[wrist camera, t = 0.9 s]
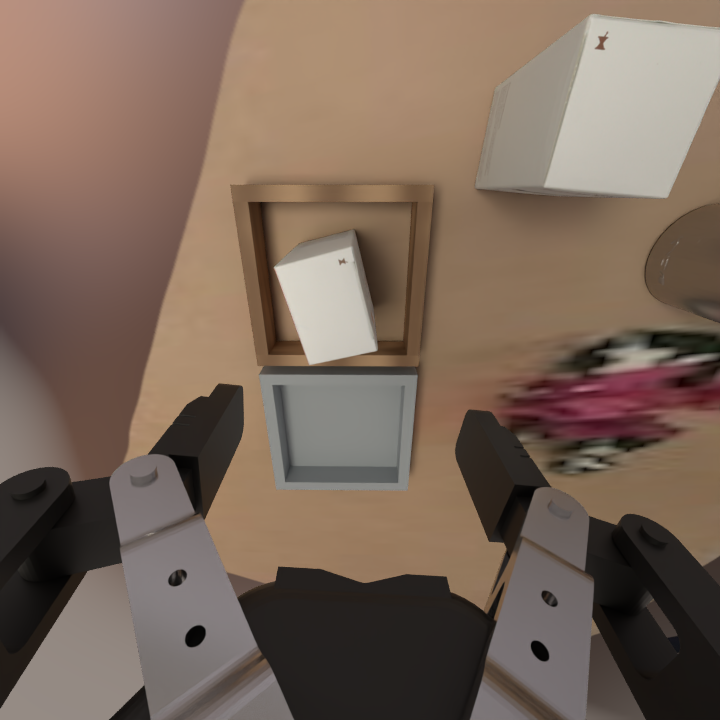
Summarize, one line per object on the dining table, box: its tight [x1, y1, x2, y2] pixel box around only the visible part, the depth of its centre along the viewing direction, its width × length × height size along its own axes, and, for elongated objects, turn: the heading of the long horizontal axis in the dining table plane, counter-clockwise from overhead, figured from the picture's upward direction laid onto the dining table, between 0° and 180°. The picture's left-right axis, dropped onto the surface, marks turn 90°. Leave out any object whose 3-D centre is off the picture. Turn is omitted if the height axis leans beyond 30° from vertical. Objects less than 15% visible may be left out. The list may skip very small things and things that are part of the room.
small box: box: [274, 229, 378, 365], centre depth 28 cm, size 8×6×10 cm
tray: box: [259, 366, 418, 490], centre depth 39 cm, size 16×16×4 cm
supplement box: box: [475, 14, 720, 199], centre depth 22 cm, size 7×7×13 cm
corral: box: [230, 185, 434, 366], centre depth 32 cm, size 16×16×4 cm
